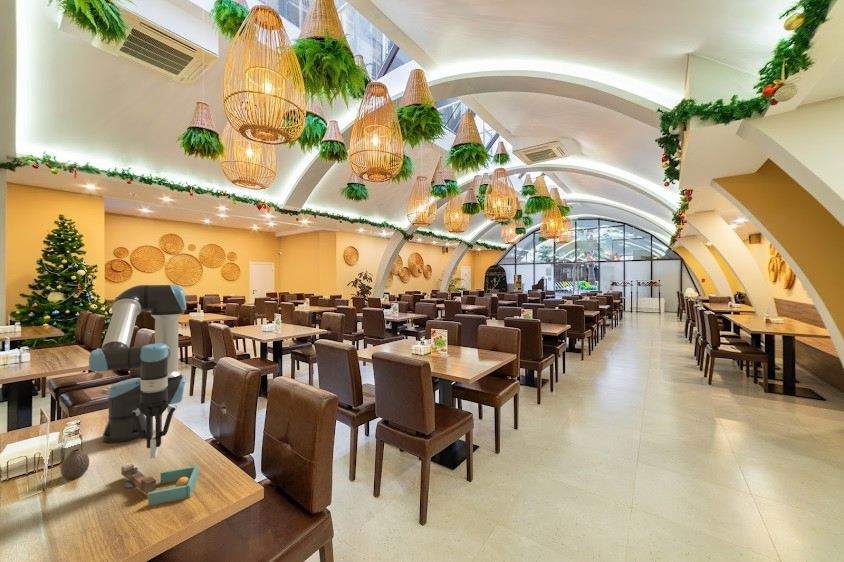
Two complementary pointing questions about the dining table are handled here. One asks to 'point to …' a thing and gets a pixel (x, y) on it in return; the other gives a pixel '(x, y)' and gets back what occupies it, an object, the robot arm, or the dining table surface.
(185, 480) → the ball
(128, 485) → the pivot base
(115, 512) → the dining table surface
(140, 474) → the lever
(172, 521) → the dining table surface
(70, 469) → the vase
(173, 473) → the teal arch
